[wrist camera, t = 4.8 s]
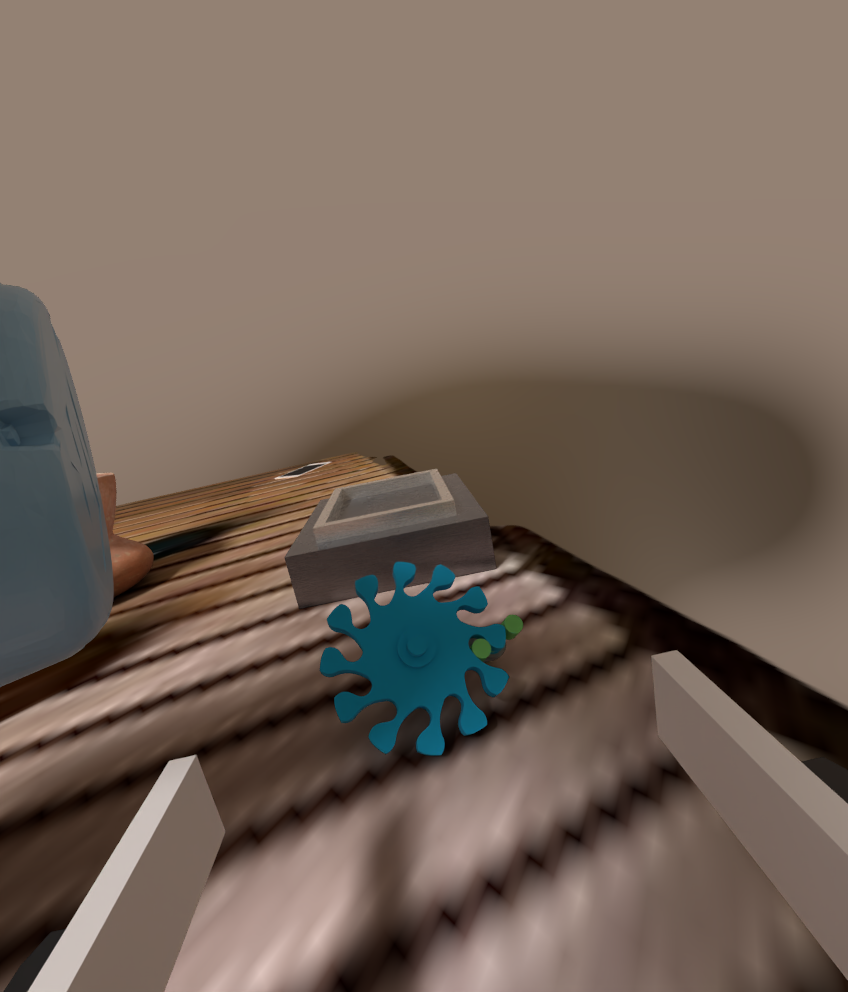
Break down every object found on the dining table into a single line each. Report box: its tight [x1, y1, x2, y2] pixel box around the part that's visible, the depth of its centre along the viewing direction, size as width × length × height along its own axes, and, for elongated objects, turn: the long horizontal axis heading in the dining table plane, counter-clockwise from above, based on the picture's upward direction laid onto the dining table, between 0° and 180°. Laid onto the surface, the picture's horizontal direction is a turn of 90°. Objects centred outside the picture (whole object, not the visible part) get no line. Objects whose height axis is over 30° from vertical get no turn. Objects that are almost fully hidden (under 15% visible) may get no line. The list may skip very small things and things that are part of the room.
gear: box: [320, 562, 523, 756], centre depth 25 cm, size 11×6×10 cm
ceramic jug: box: [96, 473, 153, 598], centre depth 52 cm, size 18×14×14 cm
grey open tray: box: [285, 469, 496, 609], centre depth 49 cm, size 18×20×6 cm
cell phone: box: [275, 462, 332, 479], centre depth 121 cm, size 8×16×1 cm, turn 158°
